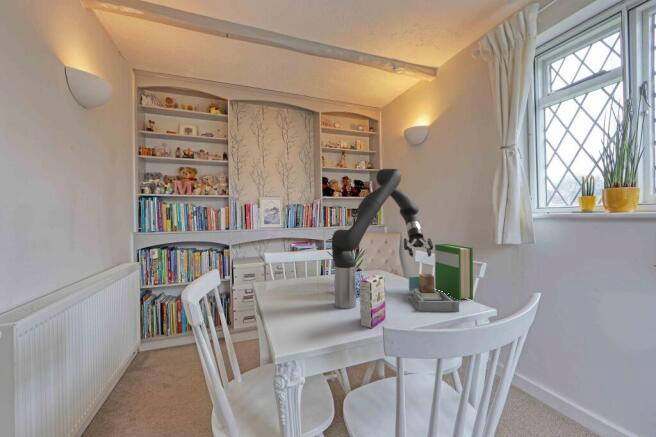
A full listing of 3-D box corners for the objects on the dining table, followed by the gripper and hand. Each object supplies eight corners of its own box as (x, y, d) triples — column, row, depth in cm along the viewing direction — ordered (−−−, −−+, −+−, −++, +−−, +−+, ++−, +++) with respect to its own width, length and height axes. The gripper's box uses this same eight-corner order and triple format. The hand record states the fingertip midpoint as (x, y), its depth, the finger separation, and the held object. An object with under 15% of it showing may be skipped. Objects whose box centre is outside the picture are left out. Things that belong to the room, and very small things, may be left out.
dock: (418, 310, 107) (418, 301, 107) (408, 297, 124) (408, 289, 124) (459, 311, 106) (458, 301, 106) (443, 298, 123) (443, 290, 123)
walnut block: (422, 295, 120) (422, 276, 120) (419, 292, 125) (419, 273, 125) (433, 295, 120) (433, 276, 120) (430, 292, 125) (429, 273, 125)
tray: (417, 299, 117) (416, 284, 117) (408, 290, 132) (408, 276, 132) (444, 299, 117) (444, 284, 116) (433, 290, 131) (433, 276, 131)
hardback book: (473, 299, 121) (472, 247, 121) (459, 300, 120) (458, 248, 119) (447, 289, 138) (447, 243, 138) (435, 290, 137) (435, 244, 137)
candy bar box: (373, 315, 103) (373, 274, 102) (385, 318, 100) (385, 275, 99) (359, 325, 94) (358, 279, 94) (371, 329, 91) (371, 281, 91)
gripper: (402, 226, 140) (407, 251, 129) (429, 226, 140) (437, 251, 128) (400, 236, 146) (405, 260, 134) (426, 235, 145) (433, 260, 134)
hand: (420, 255), depth 131 cm, fingers open, 8 cm apart
